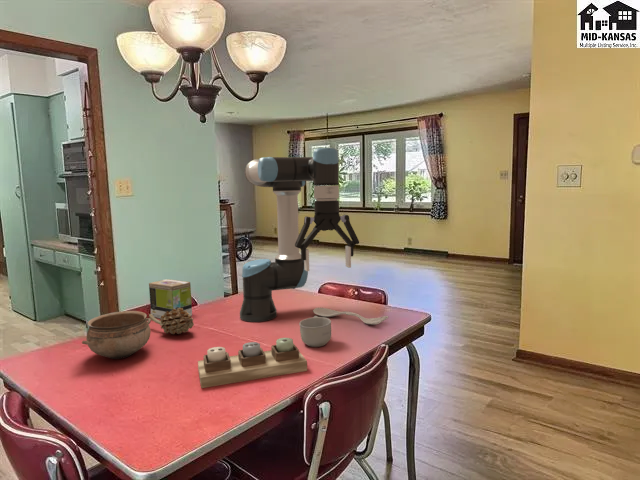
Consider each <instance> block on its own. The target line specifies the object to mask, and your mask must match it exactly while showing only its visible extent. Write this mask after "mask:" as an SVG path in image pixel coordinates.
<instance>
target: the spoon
mask: <svg viewBox="0 0 640 480" xmlns="http://www.w3.org/2000/svg"><path fill="white" fill-rule="evenodd" d="M312 312H313V313H314V314H315V315H316V316H318V317H325V318H331V317H335V316H339V315H346V316H353V317H357V318H358V319H360V320H361V321H362V322H363V323H364V324H366V325H372V326H373V325H379V324H381V323H383V322H384V321H386V319H389V316H388V315H386V316H385V315H384V316H380V317H371V318H366V317H364V316H363V315H361V314H358V313H356V312H352V311H338V310H334V309H331V308H326V307H315V308H314V309H313V310H312Z"/></svg>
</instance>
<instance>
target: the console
mask: <svg viewBox="0 0 640 480" xmlns="http://www.w3.org/2000/svg"><path fill="white" fill-rule="evenodd" d="M270 349H271V350H266V351H265V350H263V348H262V347H260V356H253V357H246V358H245V357H243V349H239V350H238V352H237V353H238V354H237V355H236V354H235V355H229V352H228V351H225V352H226V360H225V361H219V362H212V363H209V362H208V354H203V359H202V360H197V371H198V377H199V383H200V388H201V389H203V388H210V387H217V386H222V385H229V384H235V383H241V382H247V381H254V380H259V379H260V380H261V379H264V378H265V379H266V378H270V377H272V378H273V377H278V376H282V375H289V374H295V373H302V372H307V371H308V360H307V359H306V358H305V356H304V355H303V354H302V353H301V352H300V349H299V347H297V345H296V344H295V343H294V342H293V351H287V352H280V353H278V352H277V348H276V344H273V345H271V348H270Z"/></svg>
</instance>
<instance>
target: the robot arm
mask: <svg viewBox="0 0 640 480" xmlns="http://www.w3.org/2000/svg"><path fill="white" fill-rule="evenodd" d="M339 161H340V159H339V150H338V149H337V148H334V147H318V148H317V147H316V148H314V149H313V154H312V156H294V157H293V156H292V157H286V156H282V157H281V156H280V157H279V156H266V157H260V158H255V159H253V160H250V161H248V163H247V164H245V165H246V166H245V167H244V177H245V178H246V180H247V182H249V184H251V185H254V186H257V187H261V188H272V193H274V195H276V213H277V214H276V215H277V216H276V217H277V243H278V246H277V247H278V253H277V255H276V256H275V258H274V261H273V262H272V261H271V260H270V259H269V258H261V259H255V260H251V261H248V262H246V263H244V264H243V266H242V273H241V277H242V295H243V296H242V297H243V300H242V303H241V307H240V310H239V319H240V320H241V321H244V322H250V323H254V322H255V323H259V322H266V321H270V320H273V319H275V318H276V317H277V315H278V313H277V307H276V305H275V301H274V299H273V293H272V292H273V291H281V290H290V289H291V290H295V289H298V288H300V289H301V288H302V287H304V286H305V285H306V283H307V281H308V276H309V275H308V274H309V272H310V250H309V249H308V247H309V246H310V244H311V243H312V242H313V240H314V239H315V237H316V236H317V235H318V234H319V233H320V232H321V231H323V232H326V231H336V233H337V234H338V235H339V236H340V237H341V239H342V240H343V241H344V243H346V245H345V246H344V247H345V248H344V249H345V267H346V268H351V269H352V257H354V255H355V254H354V247H355V246H356V245H358V244H360V240H359V238H358V236H357V233H355V230H354V228H353V226H352V224H351V221H350V215H348V214H343V215H340V201H339V200H338V199H339V198H340V192H339V191H340V188H339V186H340V185H339V182H340V180H339V175H340V173H339V172H340V171H339V167H340V166H339ZM306 182H313V194H314V195H313V198H314V199H315V200H314V203H313V204H314V205H313V207H314V208H313V209H314V216H305V217H304V220H303V225H302V227H301V230H300V229H299V203H298V202H299V200H298V196H299V194H300V193H301V192H302V187H305V185H306ZM313 222H314V225H315V226H313V228H312V230H311V231H310V233H309V234H308V235H307V233H308V231H309V228H310V227H311V226H310V225H312V223H313ZM340 222H342V223H343V225H344V227H345V229H346V231H347V232H348V235H347V233H346V232H345V231H344V230H343V229H342V227H341V226H340V225H339V223H340ZM299 230H300V231H299ZM306 236H307V237H306ZM304 239H305V240H304Z"/></svg>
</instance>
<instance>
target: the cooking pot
mask: <svg viewBox="0 0 640 480" xmlns="http://www.w3.org/2000/svg"><path fill="white" fill-rule="evenodd" d="M151 322H152V320H151V319H150V318H149V317H148V314H147V313H146V312H142V311H137V310H125V311H115V312H110V313H106V314H102V315H99V316H95V317H93V318H91V319H90V320H88V322H87V325H88V330H87V334H86V340H82V342H81V343H82V344H83V345H87V347H88V348H89V349H90V351H91V352H92V353H94V354H95V355H98V356H102V357H105V358H108V359H112V360H121V359H125V358H129V357H130V356H132V355H134V354H135V353H136V352H138V351H139V350H141V349H142V348H143V347H145V345H146V344H147V343H148V342H149V340H150V337H151V334H152V331H151V327H150V323H151Z"/></svg>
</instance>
